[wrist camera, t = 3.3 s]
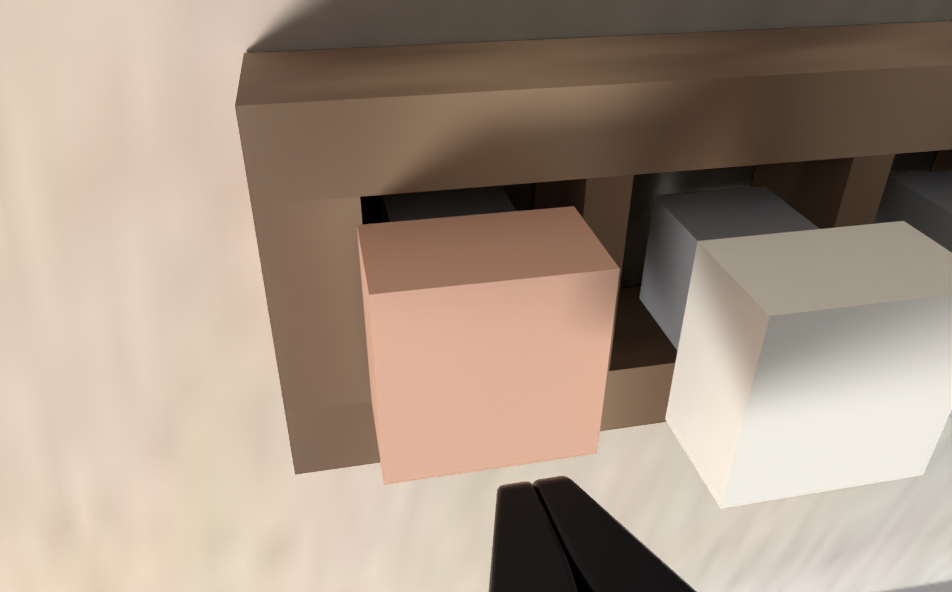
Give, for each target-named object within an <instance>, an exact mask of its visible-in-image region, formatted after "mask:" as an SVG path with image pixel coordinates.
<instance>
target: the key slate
mask: <svg viewBox="0 0 952 592" xmlns="http://www.w3.org/2000/svg"><path fill="white" fill-rule="evenodd" d="M897 221H905V222H906V223H908V224H909V225H911V226H912V227H914V228H915V229H917V230H918V231H920V232H921V233H923V234H924V235H926V236H927V237H929V238H930V239H932V240H933V241H935V242H936V243H938V244H939V245H941V246H942V247H944V248H945V249H947V250H949V251H950V252H952V170H949V171H937V172H925V173H914V174H902V175H890V176H888V179H887V182H886V185H885V188H884V192H883V195H882V198H881V201H880V204H879V207H878V211H877V214H876V217H875V220H874V223H873V224H877V223H887V222H897ZM949 416H950V417H951V418H952V410H951V413H950V415H949Z"/></svg>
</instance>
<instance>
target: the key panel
mask: <svg viewBox="0 0 952 592" xmlns="http://www.w3.org/2000/svg"><path fill="white" fill-rule="evenodd" d="M235 108H236V114H237V120H238V127H239V133H240V139H241V145H242V151H243V157H244V163H245V170H246V176H247V182H248V188H249V194H250V200H251V206H252V212H253V219H254V225H255V231H256V237H257V243H258V249H259V255H260V262H261V268H262V274H263V280H264V286H265V292H266V298H267V304H268V311H269V317H270V323H271V329H272V335H273V341H274V347H275V354H276V360H277V366H278V372H279V378H280V384H281V390H282V396H283V403H284V409H285V415H286V421H287V427H288V433H289V439H290V446H291V452H292V458H293V464H294V470H295V474H302V473H309V472H316V471H323V470H330V469H337V468H344V467H351V466H358V465H365V464H372V463H379V462H380V455H379V448H378V441H377V434H376V428H375V421H374V414H373V407H372V400H371V388H370V376H369V364H368V352H367V340H366V328H365V317H364V305H363V293H362V281H361V269H360V257H359V245H358V233H357V225H362V213H361V200H360V197H361V196H374V195H387V194H399V193H412V192H424V191H437V190H449V189H462V188H474V187H487V186H499V185H512V184H524V183H535V201H534V210H537V209H548V208H560V207H571V206H574V207H575V208H576V210H577V211H578V212H579V214H580V215H581V216H582V218H583V219H584V221H585V222H586V223H587V225H588V226H589V227H590V229H591V230H592V231H593V233H594V234H595V236H596V237H597V238H598V240H599V241H600V242H601V244H602V245H603V246H604V248H605V249H606V251H607V252H608V253H609V255H610V256H611V257H612V259H613V260H614V261H615V263H616V264H617V266H618V267H619V268H620V272H619V280H618V289H617V297H616V305H615V313H614V321H613V329H612V337H611V345H610V353H609V361H608V369H607V377H606V385H605V393H604V401H603V409H602V417H601V426H600V431H604V430H611V429H619V428H626V427H633V426H640V425H647V424H654V423H661V422H666V420H665V417H666V412H667V406H668V401H669V395H670V390H671V384H672V379H673V373H674V368H675V362H676V357H677V349H676V348H675V347H674V345H673V344H672V343H671V341H670V340H669V338H668V337H667V336H666V334H665V333H664V332H663V330H662V329H661V327H660V326H659V325H658V323H657V322H656V321H655V319H654V318H653V316H652V315H651V314H650V312H649V311H648V310H647V308H646V307H645V305H644V304H643V303H642V301H641V300H640V299H639V298H640V291H641V286H637V287H628V288H620V281H621V273H622V265H623V257H624V249H625V241H626V233H627V225H628V217H629V209H630V201H631V193H632V186H633V178H634V175H637V174H649V173H662V172H674V171H687V170H699V169H712V168H725V167H737V166H750V165H756V167H755V172H754V176H753V181H752V186H751V187H761V186H765V187H767V188H768V189H769V190H771V191H772V192H773V193H774V194H776V195H777V196H778V197H779V198H781V199H782V200H783V201H785V202H786V203H787V204H788V205H790V206H791V207H792V208H794V209H795V210H796V211H797V212H799V213H800V214H801V215H803V216H804V217H805V218H806V219H808V220H809V221H810V222H812V223H813V224H814V225H815V226H817V227H818V228H819V229H826V228H836V227H846V226H856V225H867V224H873V223H874V220H875V217H876V214H877V211H878V207H879V204H880V201H881V198H882V195H883V192H884V188H885V185H886V182H887V179H888V176H889V173H890V169H891V166H892V163H893V160H894V157H895V154H900V153H912V152H925V151H937V150H938V153H937V156H936V159H935V162H934V164H933V167H932V170H931V172H937V171H949V170H952V21H936V22H914V23H892V24H870V25H848V26H826V27H804V28H782V29H760V30H738V31H716V32H694V33H672V34H650V35H628V36H606V37H584V38H562V39H540V40H518V41H496V42H474V43H452V44H430V45H408V46H386V47H364V48H342V49H320V50H298V51H276V52H254V53H244V57H243V62H242V68H241V74H240V80H239V86H238V92H237V98H236V104H235Z"/></svg>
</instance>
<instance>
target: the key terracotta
mask: <svg viewBox="0 0 952 592" xmlns="http://www.w3.org/2000/svg"><path fill="white" fill-rule="evenodd" d="M381 206H382V221H383V223H375V224H363V225H357V233H358V245H359V257H360V269H361V281H362V293H363V305H364V317H365V328H366V340H367V352H368V364H369V376H370V388H371V400H372V407H373V414H374V421H375V428H376V434H377V441H378V448H379V455H380V462H381V468H382V475H383V482H384V485H385V484H392V483H399V482H406V481H413V480H419V479H426V478H433V477H440V476H447V475H453V474H460V473H467V472H474V471H481V470H487V469H494V468H501V467H508V466H514V465H521V464H528V463H535V462H542V461H548V460H555V459H562V458H569V457H576V456H582V455H589V454H596V453H597V450H598V442H599V434H600V426H601V417H602V409H603V401H604V393H605V385H606V377H607V369H608V361H609V353H610V345H611V337H612V329H613V321H614V313H615V305H616V297H617V289H618V280H619V272H620V268H619V267H618V266H617V264H616V263H615V261H614V260H613V259H612V257H611V256H610V255H609V253H608V252H607V251H606V249H605V248H604V246H603V245H602V244H601V242H600V241H599V240H598V238H597V237H596V236H595V234H594V233H593V231H592V230H591V229H590V227H589V226H588V225H587V223H586V222H585V221H584V219H583V218H582V216H581V215H580V214H579V212H578V211H577V210H576V208H575V207H574V206H571V207H560V208H548V209H537V210H525V211H516V209H515V207H514V206H513V204H512V202H511V200H510V199H509V197H508V195H507V194H506V192H505V190H504V188H503V187H502V185H499V186H487V187H474V188H462V189H449V190H437V191H424V192H412V193H399V194H387V195H381Z"/></svg>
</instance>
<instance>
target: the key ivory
mask: <svg viewBox="0 0 952 592" xmlns="http://www.w3.org/2000/svg"><path fill="white" fill-rule="evenodd" d="M639 299H640V300H641V301H642V303H643V304H644V305H645V307H646V308H647V310H648V311H649V312H650V314H651V315H652V316H653V318H654V319H655V321H656V322H657V323H658V325H659V326H660V327H661V329H662V330H663V332H664V333H665V334H666V336H667V337H668V338H669V340H670V341H671V343H672V344H673V345H674V347H675V348H676V349H677V357H676V362H675V368H674V373H673V379H672V384H671V390H670V395H669V401H668V406H667V412H666V417H665V420H666V422H667V423H668V425H669V426H670V428H671V430H672V431H673V433H674V434H675V436H676V438H677V439H678V441H679V442H680V444H681V446H682V447H683V449H684V450H685V452H686V454H687V455H688V457H689V458H690V460H691V462H692V463H693V465H694V466H695V468H696V470H697V471H698V473H699V474H700V476H701V478H702V479H703V481H704V482H705V484H706V486H707V487H708V489H709V490H710V492H711V494H712V495H713V497H714V498H715V500H716V502H717V503H718V505H719V506H720V508H727V507H733V506H739V505H745V504H751V503H757V502H763V501H769V500H775V499H781V498H787V497H793V496H799V495H805V494H811V493H817V492H823V491H830V490H836V489H842V488H848V487H854V486H860V485H866V484H872V483H878V482H884V481H890V480H896V479H902V478H908V477H914V476H920V475H923V474H924V472H925V469H926V467H927V465H928V463H929V460H930V458H931V456H932V454H933V451H934V449H935V447H936V444H937V442H938V440H939V438H940V435H941V433H942V431H943V429H944V426H945V424H946V422H947V419H948V417H949V415H950V413H951V410H952V252H950V251H949V250H947V249H945V248H944V247H942V246H941V245H939V244H938V243H936V242H935V241H933V240H932V239H930V238H929V237H927V236H926V235H924V234H923V233H921V232H920V231H918V230H917V229H915V228H914V227H912V226H911V225H909V224H908V223H906V222H905V221H897V222H887V223H877V224H867V225H856V226H846V227H836V228H826V229H819V228H818V227H817V226H815V225H814V224H813V223H812V222H810V221H809V220H808V219H806V218H805V217H804V216H803V215H801V214H800V213H799V212H797V211H796V210H795V209H794V208H792V207H791V206H790V205H788V204H787V203H786V202H785V201H783V200H782V199H781V198H779V197H778V196H777V195H776V194H774V193H773V192H772V191H771V190H769V189H768V188H767V187H765V186H761V187H750V188H738V189H726V190H715V191H703V192H691V193H680V194H668V195H656V196H654V200H653V207H652V214H651V221H650V228H649V235H648V242H647V249H646V256H645V263H644V270H643V277H642V284H641V291H640V298H639Z"/></svg>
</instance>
